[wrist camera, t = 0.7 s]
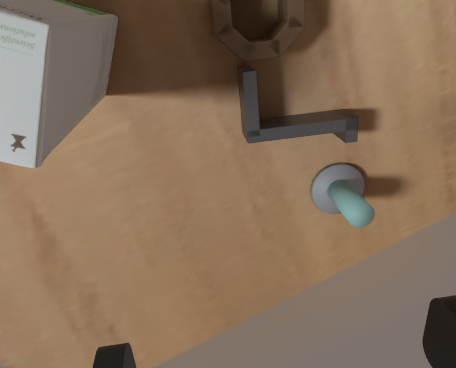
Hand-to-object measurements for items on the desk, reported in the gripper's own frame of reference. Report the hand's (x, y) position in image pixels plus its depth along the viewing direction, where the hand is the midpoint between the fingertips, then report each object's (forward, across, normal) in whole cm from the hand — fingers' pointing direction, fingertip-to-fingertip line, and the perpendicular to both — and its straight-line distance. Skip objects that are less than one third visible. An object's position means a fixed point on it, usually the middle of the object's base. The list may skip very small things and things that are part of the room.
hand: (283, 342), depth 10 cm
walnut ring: (+25, -4, -7) cm, 26 cm away
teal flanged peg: (+24, -11, +9) cm, 28 cm away
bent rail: (+25, -7, 0) cm, 26 cm away
